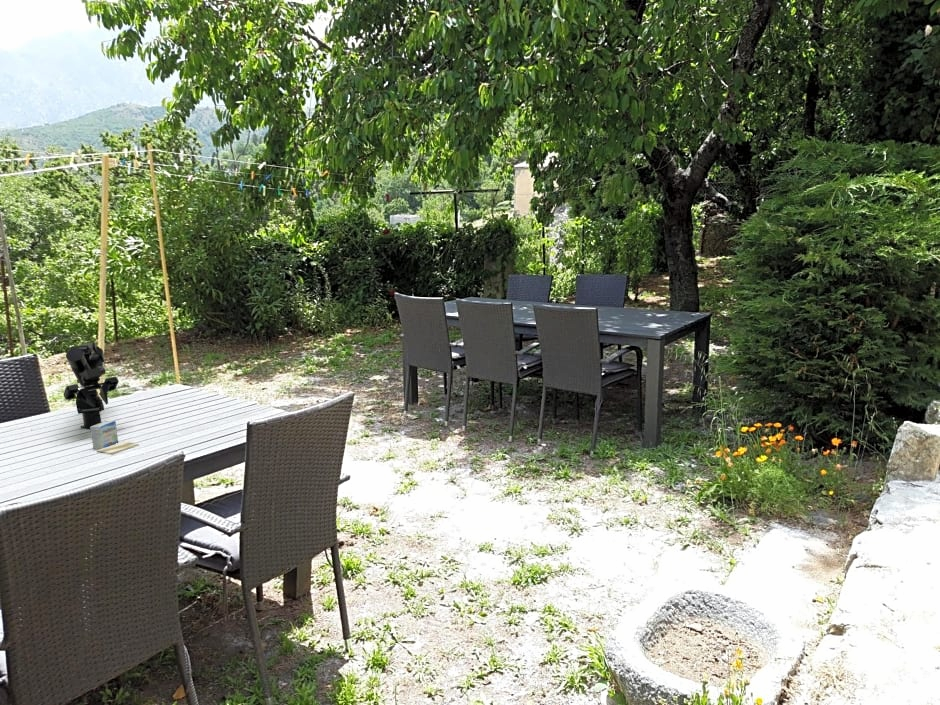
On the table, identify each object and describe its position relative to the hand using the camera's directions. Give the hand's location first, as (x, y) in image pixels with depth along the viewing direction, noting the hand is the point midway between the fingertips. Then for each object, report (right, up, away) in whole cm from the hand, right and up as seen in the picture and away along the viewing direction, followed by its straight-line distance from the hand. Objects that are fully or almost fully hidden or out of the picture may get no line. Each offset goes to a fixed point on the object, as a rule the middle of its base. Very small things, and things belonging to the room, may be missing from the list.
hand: (101, 405), depth 263 cm
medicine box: (+7, -15, -9) cm, 18 cm away
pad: (+13, -15, -12) cm, 23 cm away
